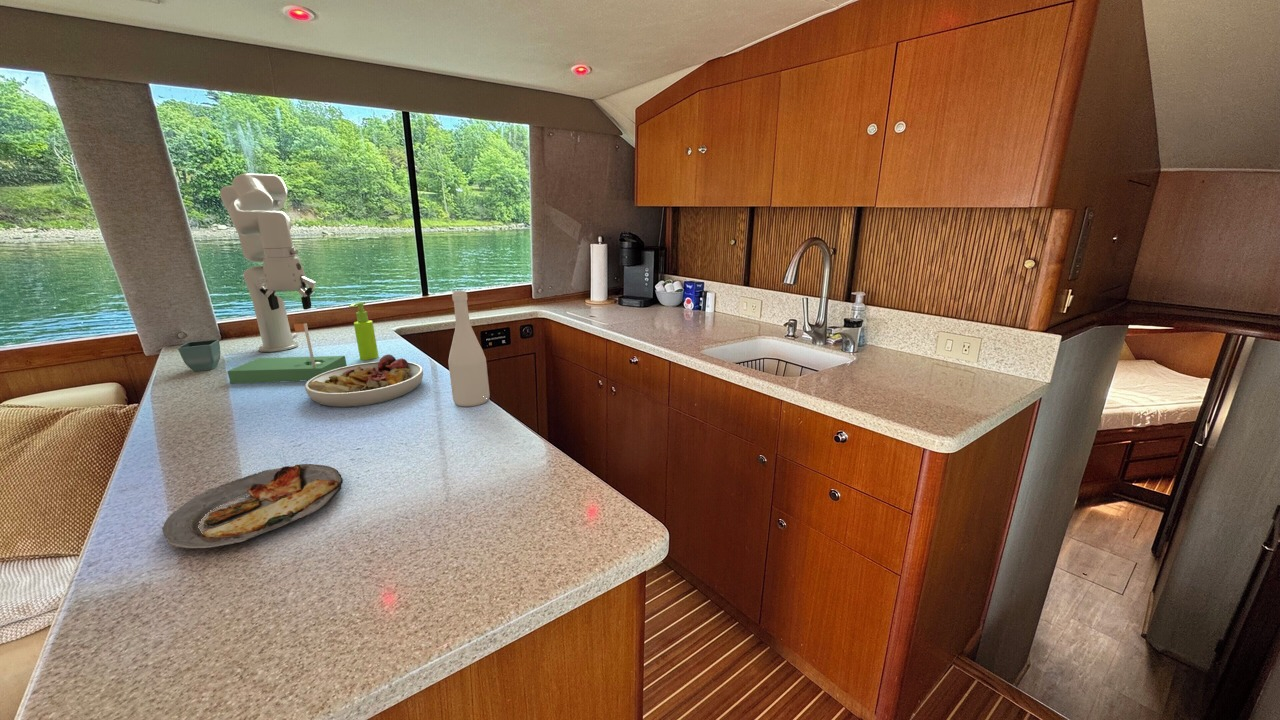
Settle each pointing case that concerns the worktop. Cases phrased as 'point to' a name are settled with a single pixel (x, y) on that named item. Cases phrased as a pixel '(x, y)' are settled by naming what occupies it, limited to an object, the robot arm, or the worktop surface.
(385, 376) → the bowl
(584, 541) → the worktop surface
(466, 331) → the wine bottle
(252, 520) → the food plate
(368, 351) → the soap dispenser
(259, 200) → the robot arm
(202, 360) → the flower pot
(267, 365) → the putting mat
